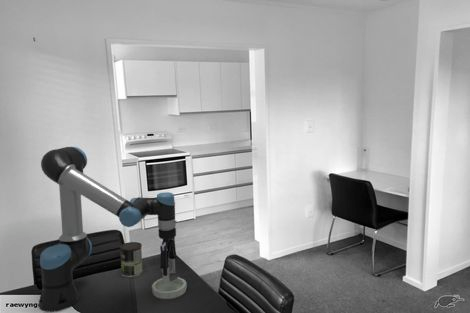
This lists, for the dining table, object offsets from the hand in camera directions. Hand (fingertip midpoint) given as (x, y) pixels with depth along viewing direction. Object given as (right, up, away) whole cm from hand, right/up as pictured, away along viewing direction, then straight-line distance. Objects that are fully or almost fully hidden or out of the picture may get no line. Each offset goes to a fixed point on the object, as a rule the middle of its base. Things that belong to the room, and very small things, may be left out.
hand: (169, 277), depth 164 cm
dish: (0, -6, +1) cm, 6 cm away
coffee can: (-22, -4, +19) cm, 30 cm away
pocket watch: (0, 0, 0) cm, 0 cm away
